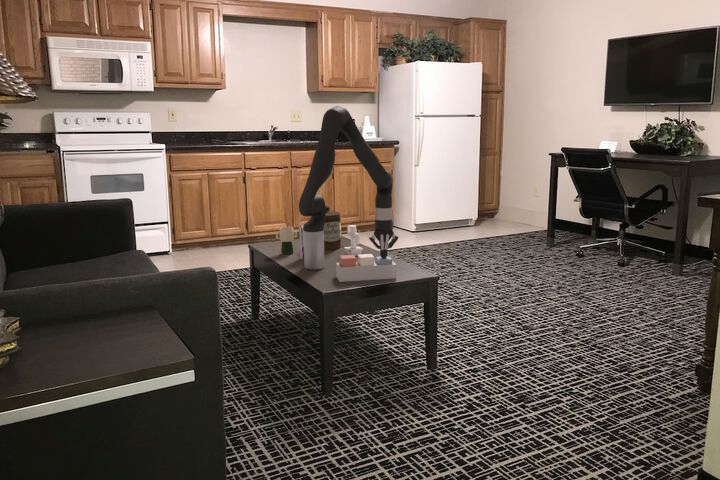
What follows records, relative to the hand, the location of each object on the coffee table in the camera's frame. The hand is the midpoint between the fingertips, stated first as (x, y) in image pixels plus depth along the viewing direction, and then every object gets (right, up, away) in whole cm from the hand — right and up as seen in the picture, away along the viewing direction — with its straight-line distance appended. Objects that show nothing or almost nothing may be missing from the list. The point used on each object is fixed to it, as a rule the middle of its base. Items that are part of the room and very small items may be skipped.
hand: (383, 258), depth 250 cm
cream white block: (-8, -4, -1) cm, 9 cm away
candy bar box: (-34, -1, +35) cm, 49 cm away
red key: (-15, -4, -2) cm, 16 cm away
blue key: (0, -5, +1) cm, 5 cm away
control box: (-8, -8, 0) cm, 11 cm away
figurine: (-13, 0, +41) cm, 43 cm away
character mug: (-47, +1, +46) cm, 65 cm away
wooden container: (-27, +4, +60) cm, 66 cm away
